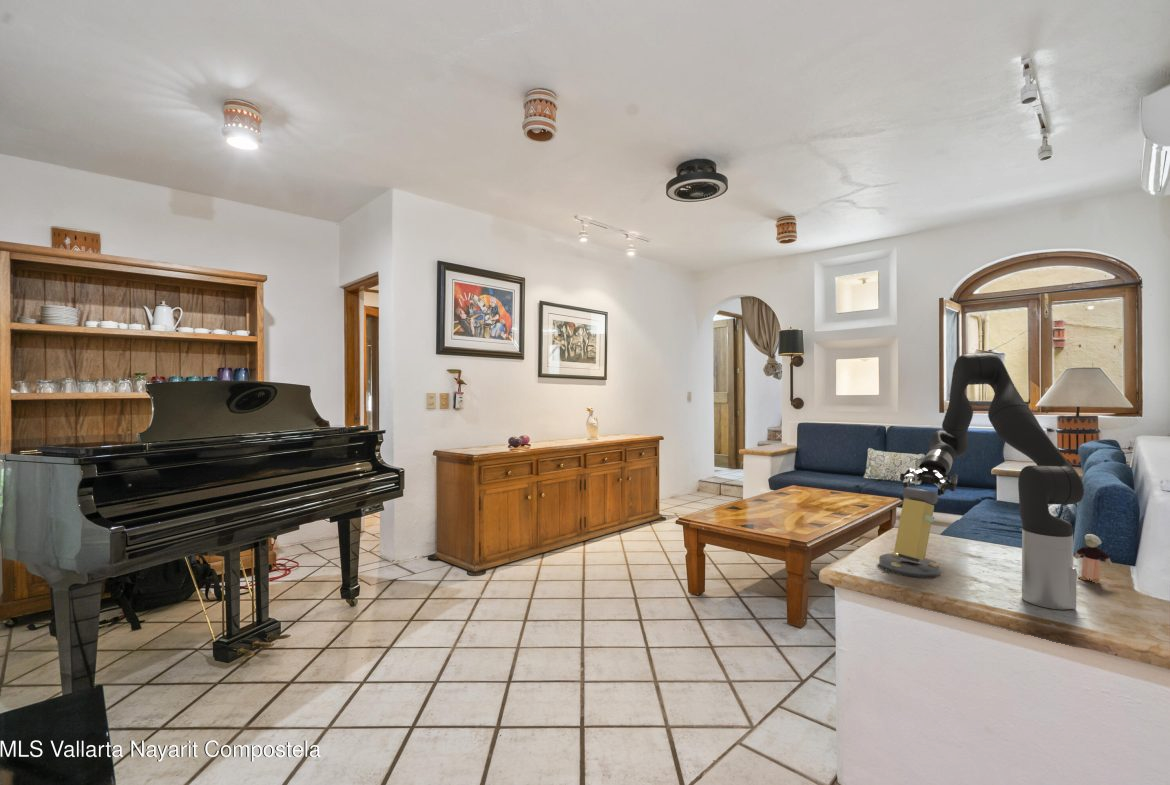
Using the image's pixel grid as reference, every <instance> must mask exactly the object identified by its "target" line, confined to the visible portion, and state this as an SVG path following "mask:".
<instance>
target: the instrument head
mask: <svg viewBox="0 0 1170 785" xmlns="http://www.w3.org/2000/svg"><path fill="white" fill-rule="evenodd" d="M902 497H903V501H902V508H901V512H900V516H899V523H898V529H897V533H896V539H895V545H894V550H893V552H895V553H898V554H899V557H901V558H905V559H908V560H912V561H916V562H919V560H924V561H925V558H926V555H927V550H928V544H929V539H930V531H931V527H932V522H934V521H935V516H933V515H934V512H935V511H934V510H935V505H936V504H937V503H938V500H939V496H938V491H934V490H927V489H921V488H916V487H910V486H909V487H905V488H903V490H902Z"/></svg>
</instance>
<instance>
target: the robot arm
mask: <svg viewBox="0 0 1170 785" xmlns="http://www.w3.org/2000/svg"><path fill="white" fill-rule="evenodd" d="M952 370H953V371H952V377H951V383H950V391H949V393H950V394H949V398H948V399H949V400H948V406H947V410H946V412H945V415H944V418H943V421H942V424H941V428H942V430H936V431H934V432H933V433H932V435H931V436H930V440H929V448H930V450H929V451H928V453H926V454H925V456H924V458H923V459H922V461H921V462H920V464H919V466H918V467H917V468H911V466H910V465H905V466H904V468H903V469H902V470H901V471H900V473H899V474H900V475H899V481H901V482H902V487H904V488H905V487H910V486H911V484H912V483H914V484H917V483H921V482H923V483H928V484H932V485H935V486H936V487H937V494H938V497H941V496H943V495H945V493H946V492H947V490H949V491H951V492H955V491H956V488H957V484H958V477H959V475H958V474H954V473H953V474H952V475H951V476H950V475H948V474H949V472H950V471H951V469H952V465H953V462H954V461H955V459H956V458H959V457H962V456H964V455H965V454H966V452H967V451H968V446H969V438H968V432H969V431H968V430H969V427H970V424H971V422H972V420H973V416H974V409H973V406H972V404H971V402H970V400H969V398H968V396H967V395H966V390H967V387H968V386H969V385H972V386H973V385H976V386H977V385H988V386H990V387H991V389H992V390H993V393H994V395H993V397H992V400H991V402H990V405H989V408H988V412H987V415H988V416H987V417H988V420H989V421H990V424H991V426H992V427H993V429H994V431H995V432H996V434H997V436H998V437H999V438H1000V439H1001V440H1002V441H1003V442H1005V443H1006V444H1008V446H1010V447H1011V448H1013V449H1015V450H1017V451H1018V452H1019V453H1021V454H1023V455H1025V456H1026V457H1028V459H1030V460H1032V461H1033V463H1034V464H1036V465H1027V466H1024V467H1023V468H1021V470H1020V472H1019V474H1018V475H1019V476H1018V479H1017V480H1018V481H1017V482H1018V483H1017V486H1018V487H1017V488H1018V489H1017V490H1018V504H1019V516H1020V520H1021V525H1022V526H1021V527H1022V528H1021V532H1022V533H1021V537H1022V538H1021V542H1022V543H1021V598H1022V600H1024V601H1025V602H1027V603H1030V604H1032V605H1034V606H1038V607H1042V608H1045V609H1052V610H1061V611H1062V610H1064V611H1065V610H1077V579H1078V576H1077V569H1076V568H1075V567H1074V566H1073V567H1072V538H1073V539H1074V533H1073V532H1074V530H1073V529H1074V528H1073V524H1072V523H1071V522H1070V521H1068V520H1066V519H1063V518H1059V517H1056V516H1055V515H1053V514H1051V512H1050V508H1049V505H1065V506H1066V505H1075V504H1077V503H1080V502H1081V501H1082V500H1083V499H1084V495H1085V488H1084V484H1083V481H1082V479H1081V477H1080V475H1079V473H1078V471H1077V470H1076V469H1075V468H1074V467H1073V466H1072V464H1071V463H1070V462H1069V461H1068V460H1067V458H1066V457H1064V455H1063V454H1062V453H1061V451H1059V449H1058V448H1057V447H1056V445H1055V444H1054V443H1053V442H1052V440H1051V439H1050V437H1049V436H1048V435H1047V433H1046V431H1045V430H1044V429H1043V427H1042V426H1041V425H1040V423H1039V421H1038V420H1037V417H1036V416H1035V414H1034V413H1033V412H1032V410H1031V408H1030V407H1029V406H1028V405H1027V404H1026V402H1025V400H1024V399H1023V398H1022V396H1021V394H1020V392H1019V391H1018V389H1017V388H1016V386H1015V384H1014V382H1013V380H1012V379H1011V377H1010V374H1009V372H1008V370H1007V368H1006V366H1005V364H1004V362H1003V360H1002V359H1001V358H1000V357H999V356H998V355H997V354H995V353H991V352H988V353H987V352H984V353H982V352H981V353H967V354H961V355H959V356H958V357H957V359H956V360H955V362H954V365H953V369H952ZM947 481H948V482H949V483H948V482H947ZM904 488H903V489H904Z"/></svg>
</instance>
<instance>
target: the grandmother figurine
mask: <svg viewBox="0 0 1170 785" xmlns="http://www.w3.org/2000/svg"><path fill="white" fill-rule="evenodd" d="M1084 540H1085V545H1084V546H1082V547H1080V548H1079V549H1077V550H1076V553H1075V555H1073V558H1075V559H1079V558H1080V557H1081V556H1082V555H1083V558H1082V563H1081V564H1082V566H1081V575H1079V576H1077V579H1078V578H1080V579H1079V580H1081V579H1083V580H1082V581H1089V582H1090V581H1092V582H1091V583H1093V582H1095V583H1094V584H1097V583H1100V581H1101V575H1102V564H1101V559H1102V560H1104V561H1105V562H1106V565H1108V566H1112V565H1113V562H1112V561H1111V558H1110V555H1109V554H1107V553H1106V552H1105V551H1103V550H1101V549H1100V548H1098V546H1099V545H1101V544H1102V540H1101V539H1100V538H1099V536H1097V535H1095V534H1093V533H1091V534H1090V533H1088V534H1085V535H1084ZM1088 579H1090V580H1088ZM1100 584H1101V583H1100Z"/></svg>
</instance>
